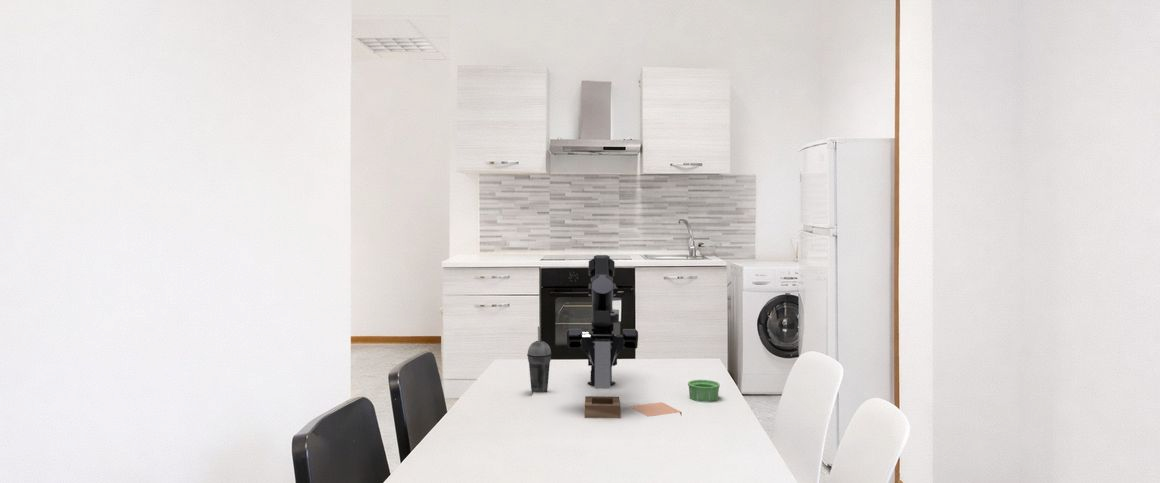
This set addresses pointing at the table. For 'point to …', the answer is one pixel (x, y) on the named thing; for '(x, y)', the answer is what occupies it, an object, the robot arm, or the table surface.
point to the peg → (602, 363)
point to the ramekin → (703, 390)
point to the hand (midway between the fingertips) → (602, 366)
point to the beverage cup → (539, 364)
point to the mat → (655, 409)
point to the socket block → (602, 407)
